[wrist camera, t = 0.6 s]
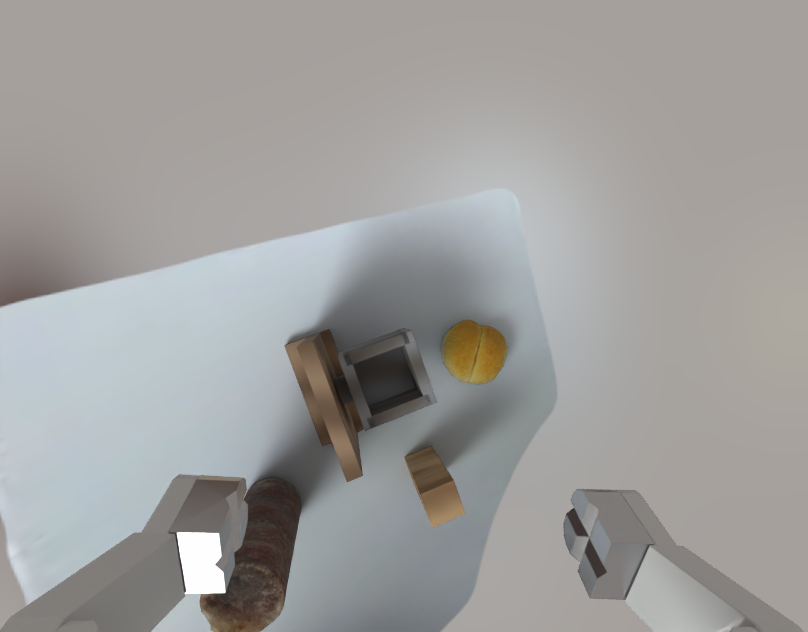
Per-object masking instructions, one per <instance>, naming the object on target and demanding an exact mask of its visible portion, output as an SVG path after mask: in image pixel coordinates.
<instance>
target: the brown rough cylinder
mask: <svg viewBox="0 0 808 632" xmlns="http://www.w3.org/2000/svg"><path fill="white" fill-rule="evenodd" d="M244 501H245V502H246V503H247V504H248V521H247V527H246V532H245V536H244V539H243V542H242V546H241V547H240V548H239V549H238V550H237V551H236V552H235V553H234V557H235V566H234V569H233V572H232V575H231V578H230V581H229V584H228V587H227V590H226V592H225V593H201V597H200V607H201V612H202V613H203V614H204V615H205V617H206V618H207V620H208V622H209V623H210V626H211V630H212V631H213V632H260V631H262V630H263V629H264V628H265V627H267V626H268V625H269V624H270V623H272V622H273V621H274V620H275V619H276V618H277V617H278V616H279V615H280V613H281V611H282V609H283V606H284V601H285V596H286V589H287V583H288V578H289V572H290V566H291V561H292V556H293V551H294V544H295V539H296V534H297V529H298V523H299V517H300V511H301V501H300V497H299V494H298V493H297V491H296V490H295V489H294V488H293V487H292V486H291V485H290V484H289V483H287V482H286V481H282V480H279V479H275V478H270V479H265V480H262V481H259V482H256V483H255V484H253V485H252V487H251V488H250V489H249V490H248V492H247V494H246V496H245V498H244Z"/></svg>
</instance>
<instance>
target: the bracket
mask: <svg viewBox="0 0 808 632" xmlns="http://www.w3.org/2000/svg"><path fill="white" fill-rule="evenodd" d="M285 348H286V351H287V354H288V356H289V359H290V362H291V364H292V367H293V370H294V372H295V375H296V378H297V380H298V383H299V385H300V388H301V391H302V393H303V396H304V399H305V401H306V404H307V407H308V409H309V412H310V415H311V417H312V420H313V423H314V425H315V428H316V430H317V433H318V436H319V438H320V441H321V444H322V446H324V445H327V444H329V443H333V446H334V449H335V451H336V454H337V456H338V459H339V462H340V464H341V467H342V470H343V472H344V475H345V478H346V480H347V482H349V481H351V480H354V479H356V478H359V477H361V476H363V474H362V466H361V458H360V450H359V442H358V434H357V432H359V431H362V430H364V429H365V431H366V430H368V429H371V428H374V427H376V426H379V425H381V424H384V423H386V422H389V421H391V420H394V419H396V418H399V417H401V416H404V415H406V414H409V413H411V412H414V411H416V410H419V409H421V408H424V407H426V406H429V405H431V404H434V403H436V402H437V401H436V398H435V395H434V392H433V389H432V387H431V384H430V381H429V378H428V375H427V373H426V370H425V367H424V364H423V361H422V359H421V356H420V353H419V350H418V347H417V345H416V342H415V339H414V336H413V333H412V331H411V330H408V329H405V328H403V329H400V330H398V331H395V332H392V333H390V334H387V335H384V336H381V337H379V338H376V339H373V340H371V341H368V342H365V343H363V344H360V345H357V346H354V347H352V348H349V349H346V350H344V351H341V352H338V351H337V348H336V346H335V343H334V340H333V338H332V335H331V332H330V330H329V329H328V330H325V331H322V332H320V333H317V334H314V335H311V336H309V337H306V338H303V339H300V340H298V341H295V342H292V343H289V344H287V345H285Z"/></svg>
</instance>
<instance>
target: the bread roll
mask: <svg viewBox="0 0 808 632" xmlns="http://www.w3.org/2000/svg"><path fill="white" fill-rule="evenodd" d="M507 352H508V346H507V345H506V342H505V339H504V337H503V335H502V334H501V333H500V332H499V331H497V330H496V329H494V328H492V327H489V326H480V325H477V323H475V322H474V321H471V320H465V321H462V322H459V323H458V324H456V325H455V326H453V327H452V328H451V329H450V330H449V331H448V332H447V333H446V335H445V336H444V338H443V341H442V344H441V353H442V359H443V362H444V365H445V366H446V368H447V369H448V371H449V372H450V373H451V374H452V375H453V376H454V377H455V378H457V379H458V380H460V381H463V382H468V383H474V384H481V383H487V382H490V381H491V380H493V379H494V378H495V377H496V375H497V374H498V373H499V371H500V370H501V369H502V367H503V364H504V362H505V359H506V355H507Z"/></svg>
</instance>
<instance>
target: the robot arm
mask: <svg viewBox="0 0 808 632" xmlns="http://www.w3.org/2000/svg"><path fill="white" fill-rule="evenodd" d="M246 490H247V489H246V480H245V479H244V478H239V477H222V476H205V475H201V476H197V475H181V474H179V475H178V476H177V477H175V478H174V479H173V481H172V482H171V484H170V486H169V487H168V489H167V491H166V492H165V494H164V496H163V497H162V499H161V501H160V502H159V504H158V506H157V507H156V509H155V511H154V512H153V514H152V516H151V517H150V519H149V521H148V522H147V524H146V526H145V527H144V529H143V531H142V532H141V533H133V534H132V535H130V536H129V537H127V538H126V539H124V540H123V541H121V542H120V543H118V544H117V545H116V546H114V547H113V548H111V549H110V550H108V551H107V552H105V553H104V554H102V555H101V556H99V557H98V558H96V559H95V560H93V561H92V562H91V563H89V564H88V565H86V566H85V567H83V568H82V569H80V570H79V571H77V572H76V573H74V574H73V575H71V576H70V577H69V578H67V579H66V580H64V581H63V582H61V583H60V584H58V585H57V586H55V587H54V588H52V589H51V590H49V591H48V592H47V593H45V594H44V595H42V596H41V597H39V598H38V599H36V600H35V601H33V602H32V603H30V604H29V605H27V606H26V607H25V608H23V609H22V610H20V611H19V612H17V613H16V614H14V615H13V616H11V617H10V618H9V619H8V621H7V622H6V623H5V625H4V626H3V627H2V629H1V630H0V632H151V631H152V630H153V629H154V627H155V626H156V625H157V624H158V623H159V622H160V621H161V620H162V619H163V618H164V617H165V616H166V615H167V614H168V613H169V612H170V611H171V610H172V609H173V608H174V607H175V606H176V605H177V604H178V603H179V602H180V601H181V600H182V599H183V598H184V597H185V594H190V593H225V592H226V590H227V587H228V584H229V581H230V578H231V575H232V572H233V569H234V566H235V557H234V553H235V552H236V551H237V550H238V549H239V548H240V547H241V546H242V542H243V539H244V536H245V532H246V527H247V521H248V504H247V503H246V502H245V501H244V500H243V498H244V496H245V493H246ZM571 502H572V504H573V506H574V508H573V509H572V510H570V511H569V512H568V513H567V514H566V517H565V521H564V537H565V541H566V545H567V548H568V550H569V552H570V554H571V555H572V556H573V557H574V558H575V559H576V560H578V561H579V562H580V565H579V569H578V573H579V575H580V577H581V580H582V582H583V584H584V586H585V588H586V591H587V593H588V595H589V597H590V598H594V599H616V600H625V603H627V605H628V606H629V607H630V608H631V609H632V610H633V611H634V612H635V613H636V614H637V615H638V616H639V617H640V618H641V619H642V620H643V621H644V622H645V623H646V624H647V625H648V626H649V627H650V628H651V629H652V630H653V631H654V632H803V631H802V629H801V628H800V627H799V626H798V625H796V624H795V623H794V622H792V621H791V620H789V619H788V618H786V617H785V616H784V615H782V614H781V613H779V612H778V611H776V610H775V609H773V608H772V607H770V606H769V605H768V604H766V603H765V602H763V601H762V600H760V599H759V598H757V597H756V596H755V595H753V594H752V593H750V592H749V591H747V590H746V589H744V588H743V587H742V586H740V585H739V584H737V583H736V582H734V581H733V580H731V579H730V578H729V577H727V576H726V575H724V574H723V573H721V572H720V571H718V570H717V569H716V568H714V567H713V566H711V565H710V564H708V563H707V562H705V561H704V560H702V559H701V558H700V557H698V556H697V555H695V554H694V553H692V552H691V551H689V550H688V549H686V548H685V547H683V546H677V545H676V543H675V542H674V541H673V539H672V538H671V537H670V535H669V534H668V532H667V531H666V529H665V528H664V527H663V525H662V524H661V522H660V521H659V520H658V518H657V517H656V515H655V514H654V513H653V511H652V510H651V508H650V507H649V506H648V504H647V503H646V501H645V500H644V498H643V497H642V496H641V494H640V493H638V492H637V491H635V490H593V489H577V490H576V491H575V492H574V493H573V495H572V498H571Z"/></svg>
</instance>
